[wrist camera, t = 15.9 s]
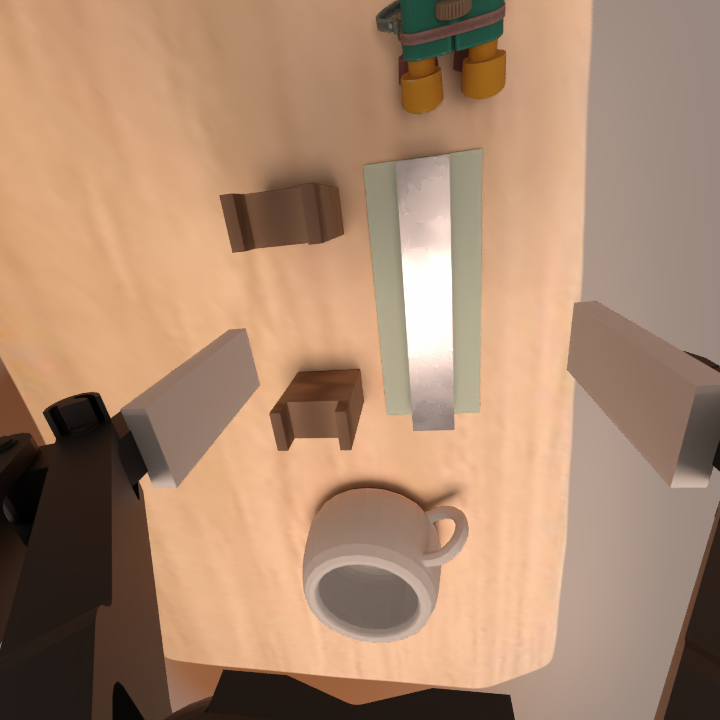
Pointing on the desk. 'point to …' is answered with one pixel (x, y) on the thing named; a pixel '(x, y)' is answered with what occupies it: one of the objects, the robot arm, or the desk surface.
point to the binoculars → (446, 47)
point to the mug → (377, 563)
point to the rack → (287, 227)
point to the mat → (463, 272)
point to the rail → (427, 288)
